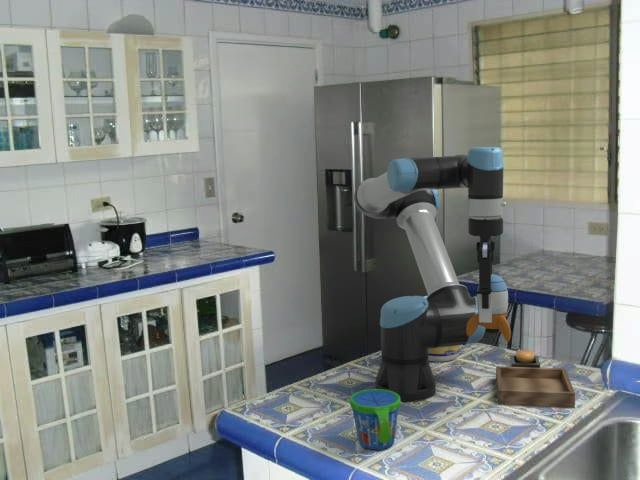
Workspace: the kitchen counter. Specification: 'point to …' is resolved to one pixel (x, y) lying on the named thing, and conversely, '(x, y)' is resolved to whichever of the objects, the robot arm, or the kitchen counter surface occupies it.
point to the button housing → (521, 364)
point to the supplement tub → (443, 353)
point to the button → (525, 356)
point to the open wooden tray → (534, 387)
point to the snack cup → (375, 417)
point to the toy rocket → (494, 311)
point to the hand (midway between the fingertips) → (486, 317)
